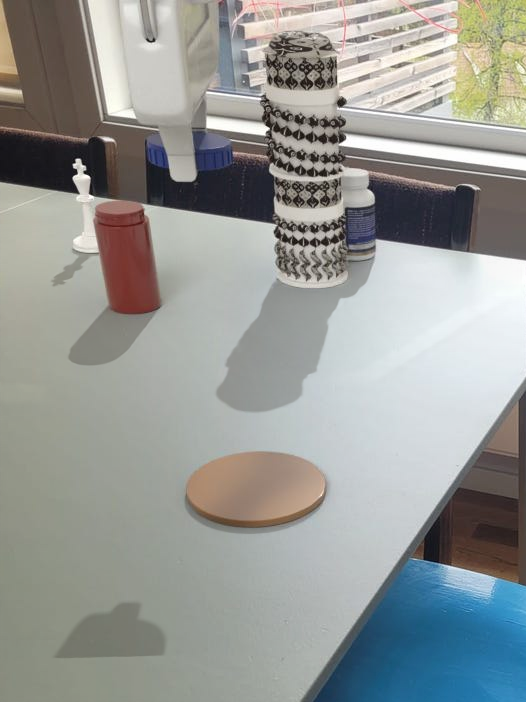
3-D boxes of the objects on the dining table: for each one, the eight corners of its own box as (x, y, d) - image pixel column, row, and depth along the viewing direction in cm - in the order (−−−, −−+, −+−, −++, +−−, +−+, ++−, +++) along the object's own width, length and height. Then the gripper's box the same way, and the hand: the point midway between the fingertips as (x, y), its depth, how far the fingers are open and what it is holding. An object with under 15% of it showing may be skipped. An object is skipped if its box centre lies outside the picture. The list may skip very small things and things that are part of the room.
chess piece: (92, 255, 120) (75, 167, 114) (64, 247, 122) (46, 159, 116) (123, 246, 124) (109, 159, 117) (95, 237, 125) (80, 151, 119)
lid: (242, 155, 76) (241, 135, 75) (220, 174, 71) (219, 152, 70) (163, 148, 76) (161, 128, 75) (136, 166, 71) (133, 145, 70)
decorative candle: (304, 257, 124) (290, 24, 108) (366, 273, 121) (361, 35, 105) (257, 278, 117) (236, 33, 102) (322, 295, 114) (310, 44, 98)
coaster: (178, 528, 75) (177, 521, 75) (195, 457, 84) (194, 451, 83) (324, 526, 77) (324, 520, 76) (327, 457, 85) (327, 450, 85)
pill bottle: (383, 252, 127) (383, 170, 121) (362, 264, 123) (360, 180, 117) (347, 245, 128) (344, 163, 122) (324, 256, 125) (321, 173, 118)
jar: (104, 313, 107) (85, 214, 100) (113, 294, 111) (96, 198, 105) (157, 314, 107) (142, 215, 101) (165, 295, 112) (151, 200, 105)
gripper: (192, -45, 57) (222, 206, 66) (223, -71, 73) (244, 134, 82) (79, -49, 57) (124, 206, 65) (135, -75, 73) (165, 133, 81)
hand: (191, 165), depth 74 cm, fingers closed on lid, 6 cm apart
